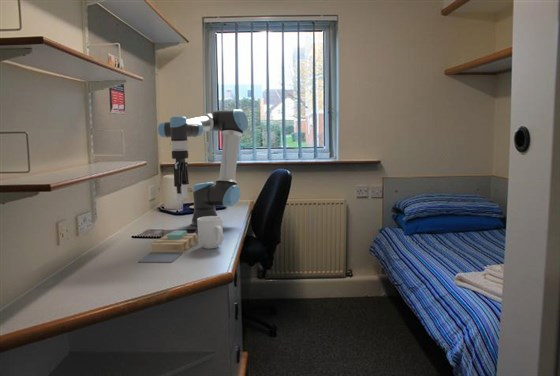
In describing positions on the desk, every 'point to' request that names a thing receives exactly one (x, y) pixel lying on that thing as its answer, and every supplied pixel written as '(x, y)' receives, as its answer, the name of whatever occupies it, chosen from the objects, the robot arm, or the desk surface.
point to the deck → (174, 244)
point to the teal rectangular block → (176, 234)
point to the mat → (161, 257)
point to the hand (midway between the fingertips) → (182, 199)
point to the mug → (210, 231)
